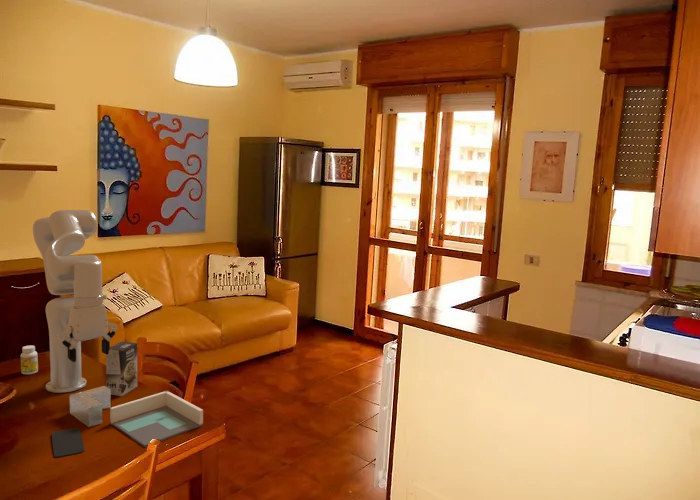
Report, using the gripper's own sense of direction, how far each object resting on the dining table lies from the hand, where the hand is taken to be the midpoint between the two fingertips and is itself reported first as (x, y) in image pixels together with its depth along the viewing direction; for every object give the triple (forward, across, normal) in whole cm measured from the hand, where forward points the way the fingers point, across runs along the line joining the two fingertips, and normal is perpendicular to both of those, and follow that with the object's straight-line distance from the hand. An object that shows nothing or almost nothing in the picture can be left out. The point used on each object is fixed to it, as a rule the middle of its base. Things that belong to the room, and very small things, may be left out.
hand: (89, 356), depth 161 cm
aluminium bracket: (+20, -3, -3) cm, 21 cm away
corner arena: (+20, -13, +16) cm, 29 cm away
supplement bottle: (+21, -2, -53) cm, 57 cm away
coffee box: (+20, -18, -15) cm, 31 cm away
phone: (+21, +10, +9) cm, 25 cm away
